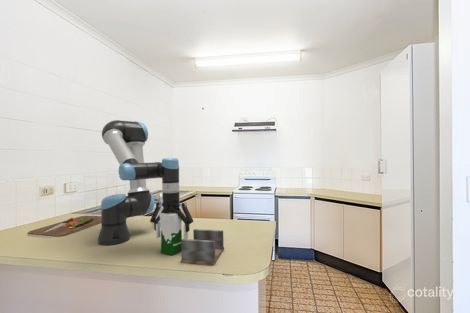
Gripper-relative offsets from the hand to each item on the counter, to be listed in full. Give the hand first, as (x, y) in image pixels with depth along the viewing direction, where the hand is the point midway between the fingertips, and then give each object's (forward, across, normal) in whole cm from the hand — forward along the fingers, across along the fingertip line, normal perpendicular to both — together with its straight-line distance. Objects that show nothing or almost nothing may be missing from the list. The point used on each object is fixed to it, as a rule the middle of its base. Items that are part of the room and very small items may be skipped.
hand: (171, 238), depth 112 cm
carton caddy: (+6, +16, -2) cm, 17 cm away
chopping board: (+6, -82, +29) cm, 87 cm away
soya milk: (+6, 0, 0) cm, 6 cm away
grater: (+6, -24, +37) cm, 45 cm away
